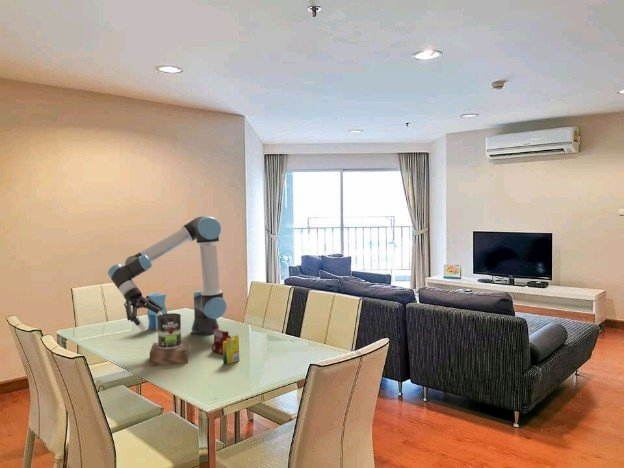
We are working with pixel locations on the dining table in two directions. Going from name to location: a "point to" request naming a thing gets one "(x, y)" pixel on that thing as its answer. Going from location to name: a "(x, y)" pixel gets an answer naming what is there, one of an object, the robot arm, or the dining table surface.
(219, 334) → the toy fire truck
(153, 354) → the walnut block
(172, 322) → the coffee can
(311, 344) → the dining table surface
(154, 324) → the vase
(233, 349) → the crayon box
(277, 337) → the dining table surface
